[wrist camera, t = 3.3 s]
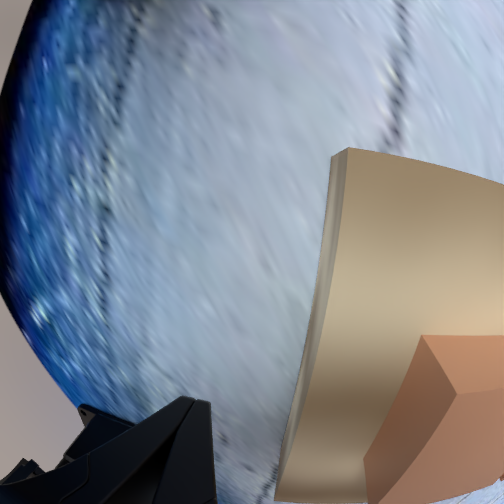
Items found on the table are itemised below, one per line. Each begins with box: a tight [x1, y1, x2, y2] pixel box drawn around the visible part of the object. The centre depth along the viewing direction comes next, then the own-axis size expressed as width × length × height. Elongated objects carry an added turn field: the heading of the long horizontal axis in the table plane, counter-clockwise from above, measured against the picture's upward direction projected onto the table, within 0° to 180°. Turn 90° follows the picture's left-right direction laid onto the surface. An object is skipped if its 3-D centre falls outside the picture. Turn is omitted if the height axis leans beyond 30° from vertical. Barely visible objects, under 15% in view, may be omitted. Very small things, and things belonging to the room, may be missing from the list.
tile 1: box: [363, 335, 504, 504], centre depth 6 cm, size 6×6×2 cm
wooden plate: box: [274, 147, 504, 504], centre depth 8 cm, size 14×17×4 cm
